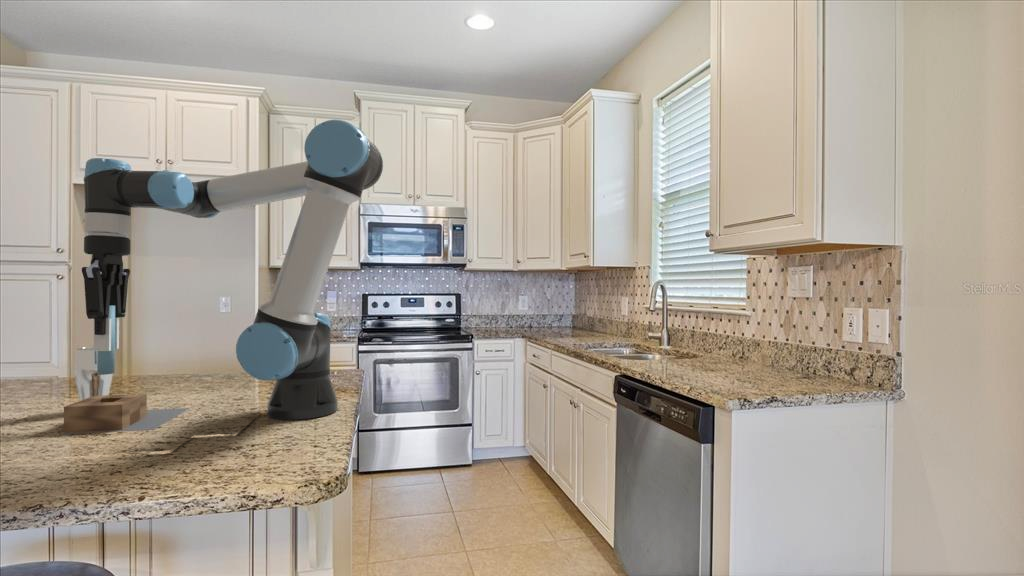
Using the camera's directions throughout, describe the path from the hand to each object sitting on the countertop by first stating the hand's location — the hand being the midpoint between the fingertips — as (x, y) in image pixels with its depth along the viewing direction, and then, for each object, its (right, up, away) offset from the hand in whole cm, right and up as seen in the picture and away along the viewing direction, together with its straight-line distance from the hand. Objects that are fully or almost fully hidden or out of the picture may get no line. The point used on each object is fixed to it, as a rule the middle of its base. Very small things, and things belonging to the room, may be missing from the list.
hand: (106, 349), depth 106 cm
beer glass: (-11, -16, +11) cm, 22 cm away
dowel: (0, -5, 0) cm, 5 cm away
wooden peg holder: (0, -15, 0) cm, 15 cm away
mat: (+2, -16, +4) cm, 17 cm away
